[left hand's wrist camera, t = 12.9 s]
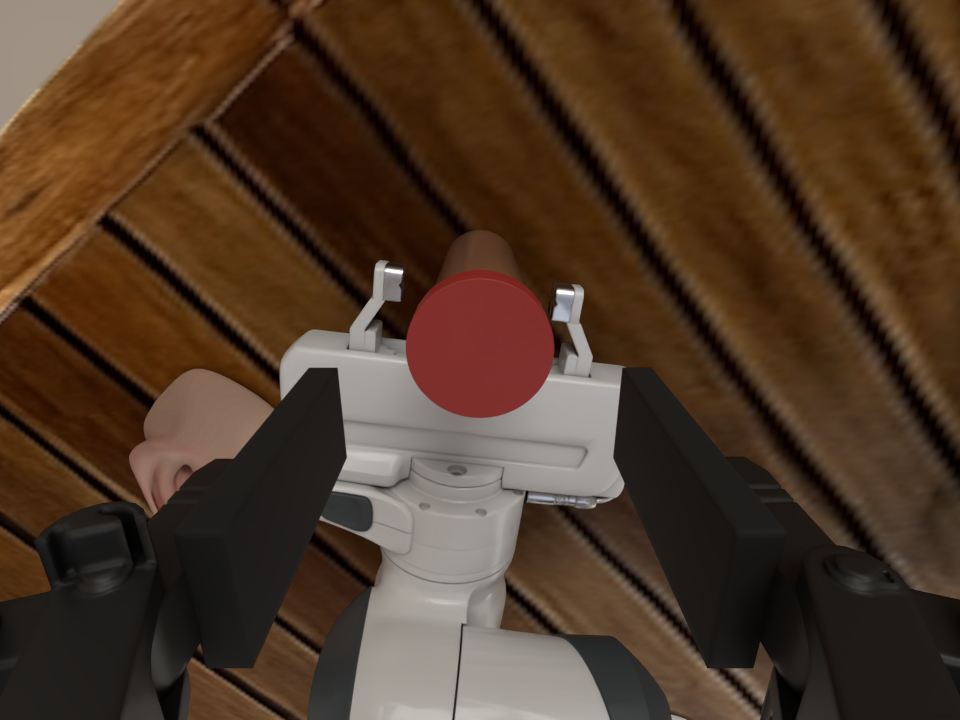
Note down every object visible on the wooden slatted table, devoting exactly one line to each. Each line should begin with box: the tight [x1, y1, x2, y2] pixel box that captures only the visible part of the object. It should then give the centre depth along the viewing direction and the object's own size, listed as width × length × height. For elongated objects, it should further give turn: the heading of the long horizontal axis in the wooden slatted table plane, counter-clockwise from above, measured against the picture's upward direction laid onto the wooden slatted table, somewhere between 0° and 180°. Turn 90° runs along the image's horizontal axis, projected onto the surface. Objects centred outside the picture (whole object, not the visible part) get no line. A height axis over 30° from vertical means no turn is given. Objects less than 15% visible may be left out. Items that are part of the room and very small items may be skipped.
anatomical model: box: [129, 369, 274, 515], centre depth 37 cm, size 13×4×12 cm
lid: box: [406, 270, 554, 418], centre depth 20 cm, size 5×5×2 cm
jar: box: [435, 230, 525, 285], centre depth 27 cm, size 5×5×16 cm
